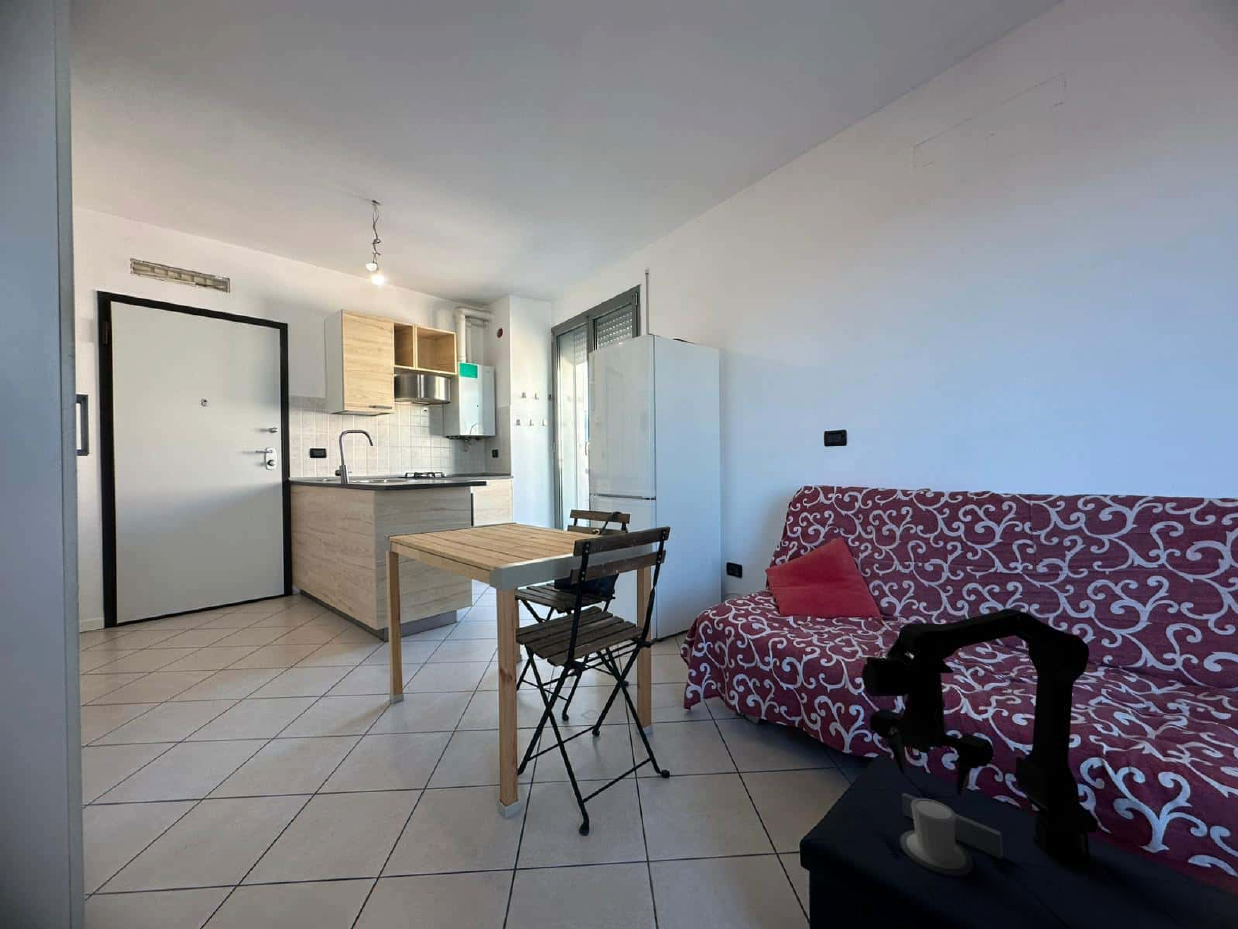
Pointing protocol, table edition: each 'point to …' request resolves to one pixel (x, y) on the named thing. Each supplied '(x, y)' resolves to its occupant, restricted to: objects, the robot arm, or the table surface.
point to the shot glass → (934, 828)
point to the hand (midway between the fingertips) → (930, 783)
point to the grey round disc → (955, 867)
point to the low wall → (967, 831)
